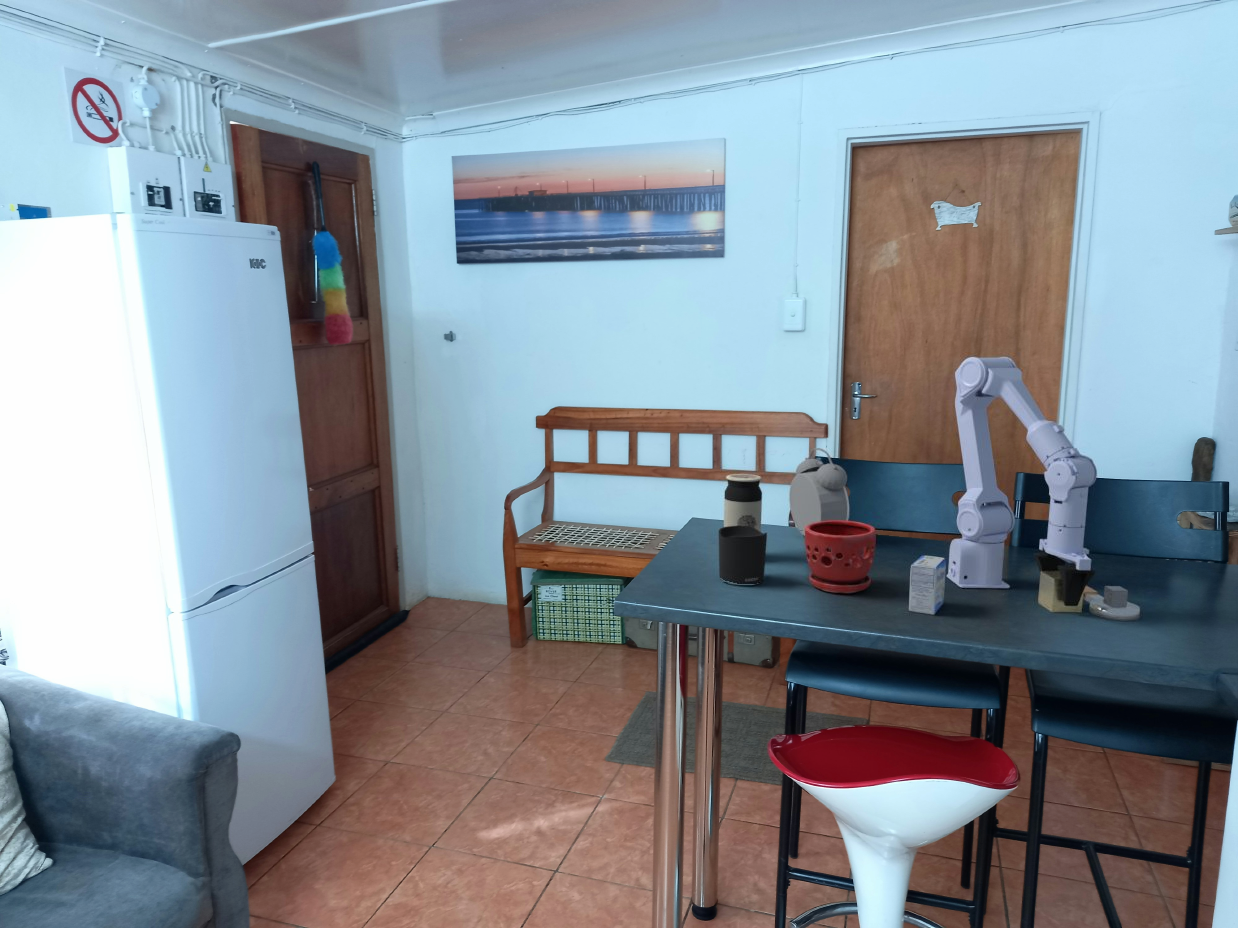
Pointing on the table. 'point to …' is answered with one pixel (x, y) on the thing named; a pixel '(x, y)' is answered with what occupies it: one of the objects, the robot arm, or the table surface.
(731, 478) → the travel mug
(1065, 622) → the table surface
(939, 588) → the medicine box
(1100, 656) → the table surface
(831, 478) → the alarm clock
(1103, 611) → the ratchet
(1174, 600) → the table surface
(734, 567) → the pen holder
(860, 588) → the plant pot
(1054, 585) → the brushed metal cube
